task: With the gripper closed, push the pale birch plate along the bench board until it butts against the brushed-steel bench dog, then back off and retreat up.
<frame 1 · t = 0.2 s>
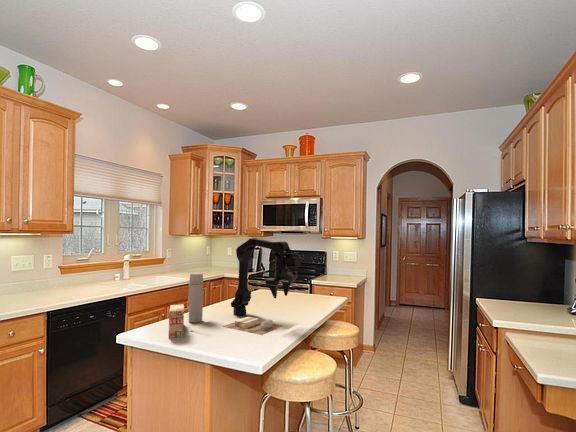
hand: (280, 297, 172), 14 cm above the table, fingers open, 9 cm apart
birch plate: (246, 324, 168), point 1 cm above the table, touching bench board
water bottle: (194, 321, 179), on the table
bench board: (253, 329, 165), on the table
stack of blocks: (176, 331, 161), on the table
bench dog: (266, 331, 161), resting on bench board
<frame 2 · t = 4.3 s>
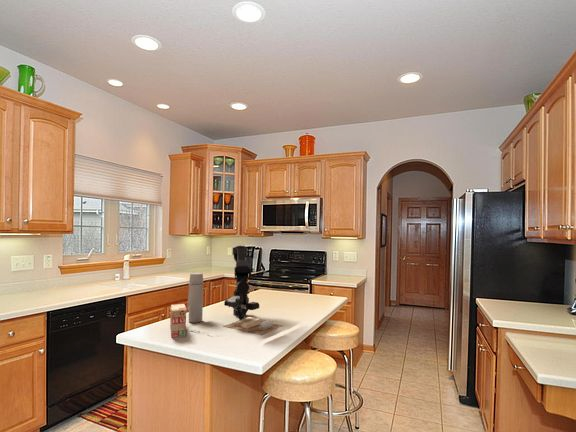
hand: (241, 321, 169), 3 cm above the table, fingers closed
birch plate: (248, 325, 167), point 2 cm above the table, touching gripper
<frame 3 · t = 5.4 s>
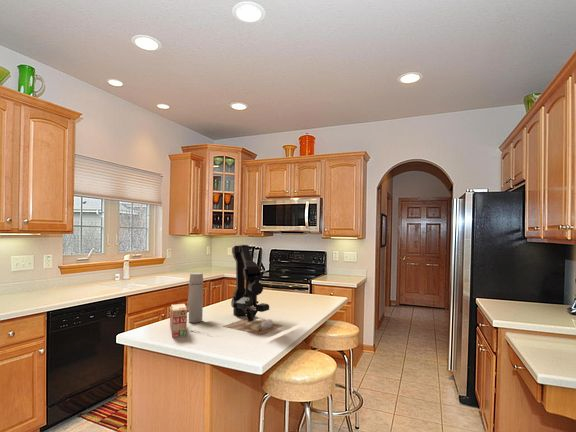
hand: (250, 323, 166), 3 cm above the table, fingers closed
birch plate: (257, 327, 164), point 1 cm above the table, touching bench board, gripper
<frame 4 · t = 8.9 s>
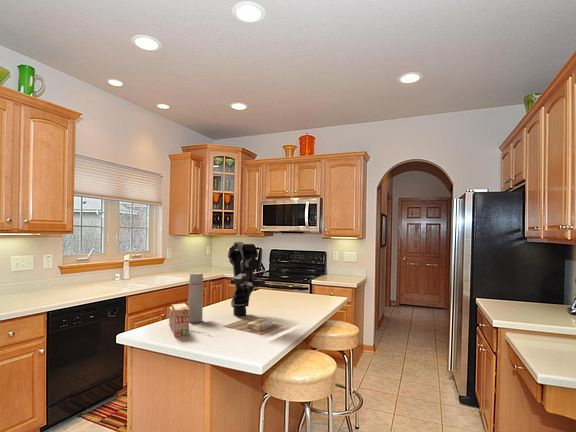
hand: (247, 298, 174), 13 cm above the table, fingers closed
birch plate: (259, 327, 163), point 1 cm above the table, touching bench board
at the end: birch plate 0.3 cm from the target spot, point 1.5 cm above the table; birch plate moved 7.7 cm from its start; birch plate tilted 0° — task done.
